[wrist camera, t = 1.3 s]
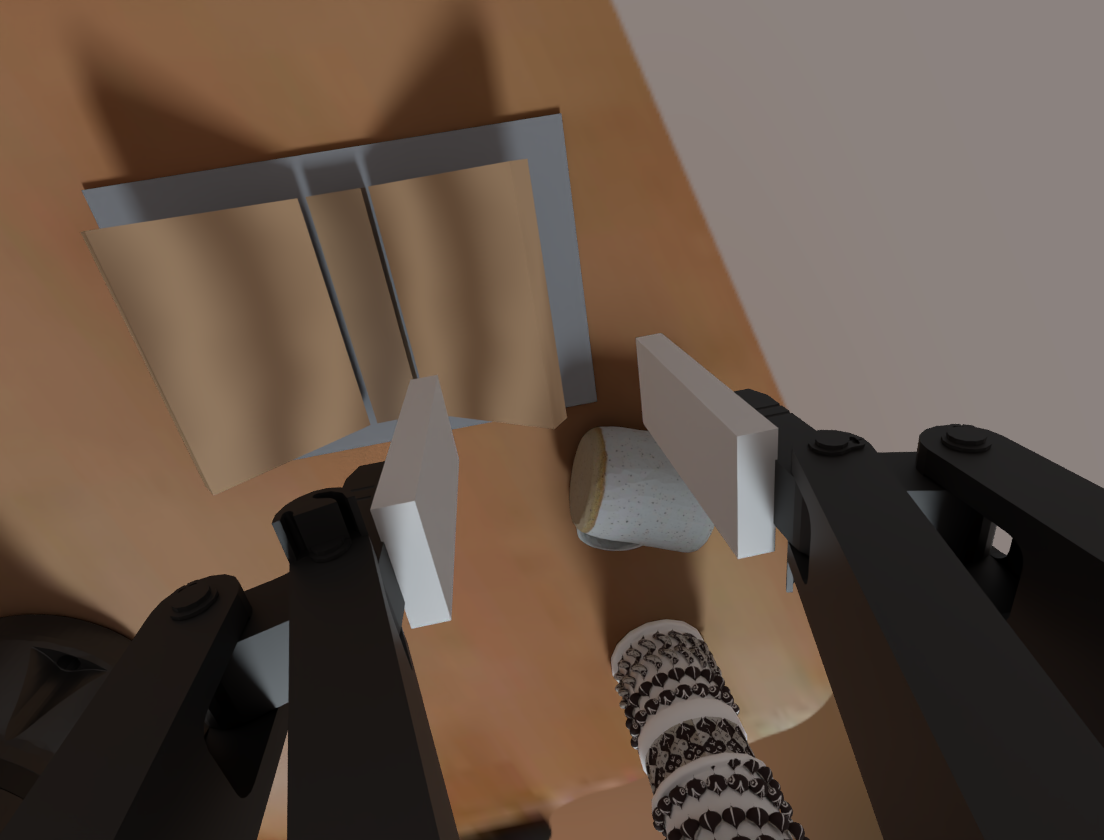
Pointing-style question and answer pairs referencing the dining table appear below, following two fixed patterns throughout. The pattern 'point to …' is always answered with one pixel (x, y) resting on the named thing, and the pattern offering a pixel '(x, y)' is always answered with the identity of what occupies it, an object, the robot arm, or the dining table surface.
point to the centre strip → (365, 296)
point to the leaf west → (234, 334)
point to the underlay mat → (362, 170)
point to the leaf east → (475, 290)
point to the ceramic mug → (632, 495)
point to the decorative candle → (694, 741)
